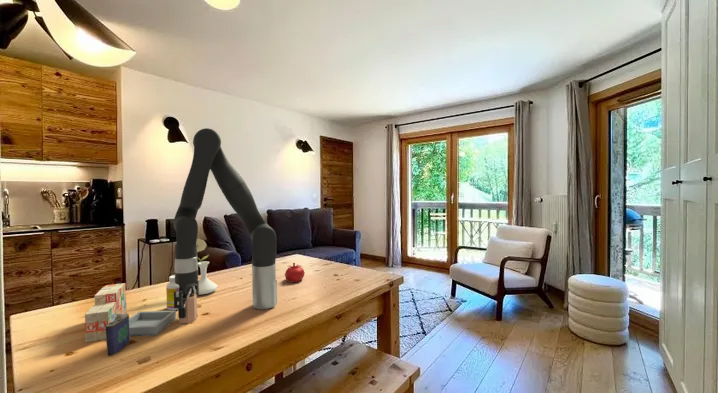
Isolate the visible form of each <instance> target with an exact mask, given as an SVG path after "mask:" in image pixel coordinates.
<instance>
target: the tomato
mask: <svg viewBox="0 0 718 393" xmlns="http://www.w3.org/2000/svg"><path fill="white" fill-rule="evenodd" d="M305 274H306V273H305V270H304V268H303V267H302V266H301V265H300V264H296V263H295V262H293V263H292V265H287V269H286V270H285V273H284V276H285V278H284V279H285V280H286V281H287V282H289V283H297V282H300V281H301V280H303V279H304V277H305Z"/></svg>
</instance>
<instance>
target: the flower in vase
mask: <svg viewBox="0 0 718 393" xmlns="http://www.w3.org/2000/svg"><path fill="white" fill-rule="evenodd" d="M196 246H197V253H199V252H202V251H205V250H206V248H207V246H208V245H207V243H206V241H205V240H204V239H201V238H197V242H196ZM209 256H210V254H207V255H206V256H203V257H202V258H201V259H200V257H198V255H197V260H199V261H198V268H200V269H199V271H200V279H198V281H199V295H206V294H211V293H213V292H215V291H216V290H218V284H216V283H215V282H213V280H210V279H209V278H208V277H207V268H208V266H209V264H210V261H206V259H207V258H208V257H209ZM204 260H205V261H204ZM195 290H196V289H195ZM199 295H198V296H199Z"/></svg>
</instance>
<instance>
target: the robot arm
mask: <svg viewBox="0 0 718 393" xmlns="http://www.w3.org/2000/svg"><path fill="white" fill-rule="evenodd" d="M192 144H193V157H192V162H191V166H190V168H189V171H188V175H187V178H186V180H185V184H184V186H183V188H182V189H183V190H182V194H181V197H180V202H179V206H178V207H177V210H176V213H175V216H174V220H173V223H172V226H173V228H174V229H173V230H174V231H175V234H176V236H175V237H176V243H175V245H174V267H173V268H174V275H175V283H176V284H178V285H179V291H175V292H174V308H178V310H177V312H178V315H177V316H178V317H177V318H178V319H179V318H185V317H186V307H185V306H186V302H187V301H188V300H189V296H191V295H192V293H193V294H196V295H197V296H199V265H198V263H199V261H198V260H199V259H198V258H197V256H198V252H197V246H196V242H197V239H198V233H199V225H198V221H197V219H196V218H197V215H198V211H199V210H200V209H201V207H202V205H203V201H204V196H205V194H206V189H207V183H208V180H209V179H208V178H209V174H210V171H211V173H212V175H213V177H214V179H215V181H216V183H217V185H218V187H219V190H220V191H221V193H222V194H223V196H224V198H225V199H226V201H227V202H228V204H229V205H230V207H231V208H232V210H234V212H235V213H236V215H237V216H238V218H240V219H241V221H242V222H243V225H244V226H245V227H246V230H247V232H248V234H249V237H250V239H251V241H252V258H251V275H252V277H251V280H252V281H251V282H252V283H251V284H252V286H251V287H252V289H251V290H252V308H253V309H255V310H267V309H270V308H272V309H273V308H275V307H276V305H277V303H278V280H277V279H276V276H277V275H276V272H277V271H276V259H277V244H278V242H277V241H278V240H277V234H276V231H275V230H274V228H272V227H271V226H270V225H269V224H268V223H267V221H266V220H265V219H264V217H263V216H262V214H261V213H260V211H259V210H258V206H257V204H256V202H255V199H254V196H253V194H252V192H251V190H250V188H249V187H248V185H247V183H246V181H245V180H244V179H243V177H242V176H241V175H240V173H239V172H238V171H237V170H236V169H235V168H234V166H233V165H232V164H231V163H230V162H229V160H228V158H227V156H226V154H225V153H224V151H223V149H222V146H221V145H222V140H221V136H220V134H218V132H217V131H215V129H212V128H209V127H208V128H206V127H205V128H202V129H200V130H198V131H197V132H196V133H194V136H193V140H192ZM195 289H196V290H195ZM183 298H185V299H183ZM183 301H184V303H183ZM177 302H178V304H177Z"/></svg>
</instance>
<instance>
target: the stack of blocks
mask: <svg viewBox="0 0 718 393" xmlns="http://www.w3.org/2000/svg"><path fill="white" fill-rule="evenodd" d="M126 285H127V284H126V282H124V283H115V284H114V283H113V284H107V285H104V286H103V287H102V288H101V289H99V290H98V291H97V292H96V294H94V305H93V306H92V307H90V308H89V309H88V311H87V312H85V314H84V338H85V343H91V342H96V341H101V340H106V325H107V324H109V322H113V321H114V320H115V318H116V317H117V315H116V314H128V313H127V312H128V308H127V292H126V290H127V288H126V287H127V286H126Z"/></svg>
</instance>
